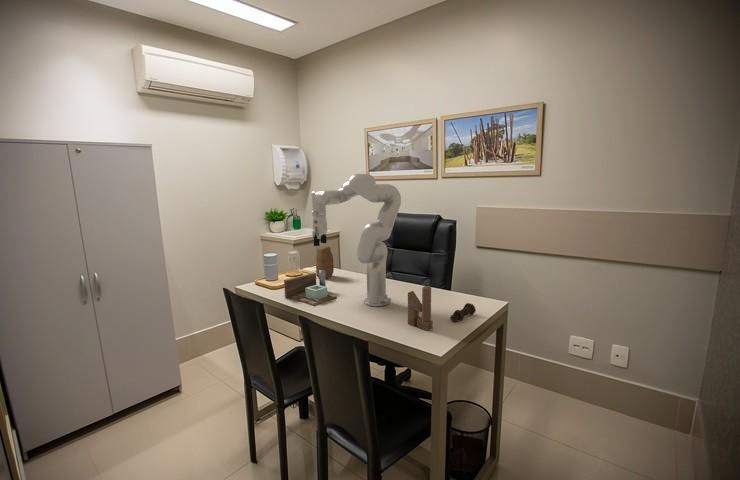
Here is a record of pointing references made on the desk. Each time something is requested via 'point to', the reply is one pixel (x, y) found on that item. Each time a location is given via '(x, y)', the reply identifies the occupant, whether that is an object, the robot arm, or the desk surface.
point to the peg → (322, 278)
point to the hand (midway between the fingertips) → (320, 244)
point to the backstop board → (303, 289)
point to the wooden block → (420, 309)
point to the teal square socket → (316, 292)
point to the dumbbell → (463, 312)
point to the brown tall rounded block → (324, 261)
